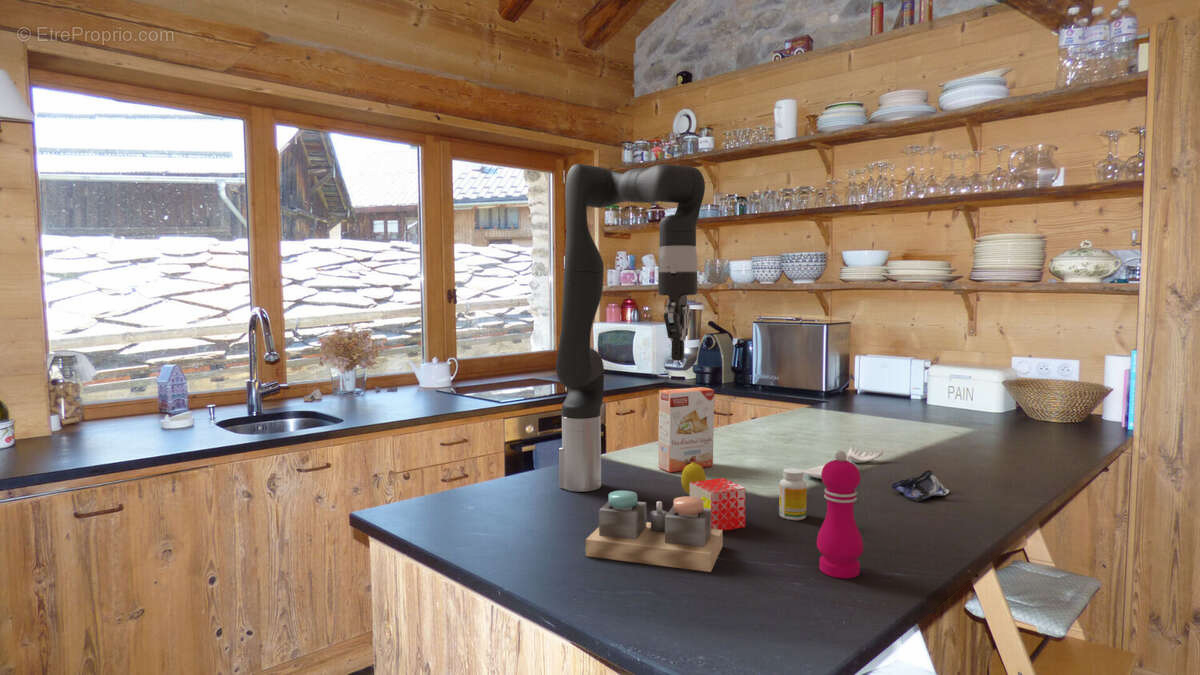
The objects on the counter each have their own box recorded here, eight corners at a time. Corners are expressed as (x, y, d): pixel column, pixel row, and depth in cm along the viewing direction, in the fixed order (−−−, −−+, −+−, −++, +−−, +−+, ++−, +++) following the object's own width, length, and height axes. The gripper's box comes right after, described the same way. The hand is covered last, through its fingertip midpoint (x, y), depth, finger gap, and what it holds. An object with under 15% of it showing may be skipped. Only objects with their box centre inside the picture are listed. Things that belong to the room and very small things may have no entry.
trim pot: (648, 531, 123) (648, 503, 122) (653, 525, 126) (653, 498, 125) (665, 533, 122) (665, 505, 121) (670, 527, 125) (670, 500, 124)
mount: (585, 556, 119) (585, 513, 119) (607, 533, 130) (607, 494, 130) (710, 572, 112) (710, 526, 111) (722, 546, 123) (722, 505, 123)
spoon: (884, 462, 184) (884, 449, 184) (830, 486, 161) (830, 472, 161) (851, 456, 190) (852, 444, 190) (795, 479, 167) (796, 466, 167)
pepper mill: (809, 563, 115) (810, 446, 114) (850, 561, 116) (852, 445, 114) (827, 581, 108) (828, 457, 107) (871, 579, 108) (873, 455, 107)
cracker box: (670, 473, 173) (670, 392, 172) (657, 468, 178) (657, 389, 177) (714, 467, 179) (715, 388, 178) (701, 462, 185) (701, 385, 183)
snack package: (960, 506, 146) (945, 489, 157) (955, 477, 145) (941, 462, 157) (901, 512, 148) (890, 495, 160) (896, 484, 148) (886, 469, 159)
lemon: (705, 501, 150) (705, 465, 149) (680, 500, 151) (680, 464, 150) (706, 494, 155) (706, 459, 155) (682, 492, 156) (682, 458, 156)
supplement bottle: (773, 514, 140) (774, 469, 140) (793, 510, 143) (794, 465, 142) (791, 522, 136) (792, 475, 135) (812, 518, 138) (812, 471, 137)
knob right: (670, 541, 117) (670, 503, 117) (677, 531, 122) (677, 495, 122) (700, 544, 116) (700, 506, 115) (705, 534, 120) (705, 497, 120)
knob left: (604, 533, 121) (604, 497, 121) (614, 524, 126) (613, 489, 126) (632, 537, 119) (632, 500, 119) (640, 527, 124) (640, 492, 124)
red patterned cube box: (689, 520, 137) (689, 482, 137) (722, 515, 140) (722, 477, 140) (711, 533, 130) (711, 492, 130) (745, 527, 133) (745, 487, 133)
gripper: (666, 271, 138) (667, 356, 139) (649, 269, 126) (650, 362, 127) (703, 271, 136) (703, 357, 137) (689, 269, 123) (690, 363, 124)
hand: (677, 359), depth 132 cm, fingers closed
